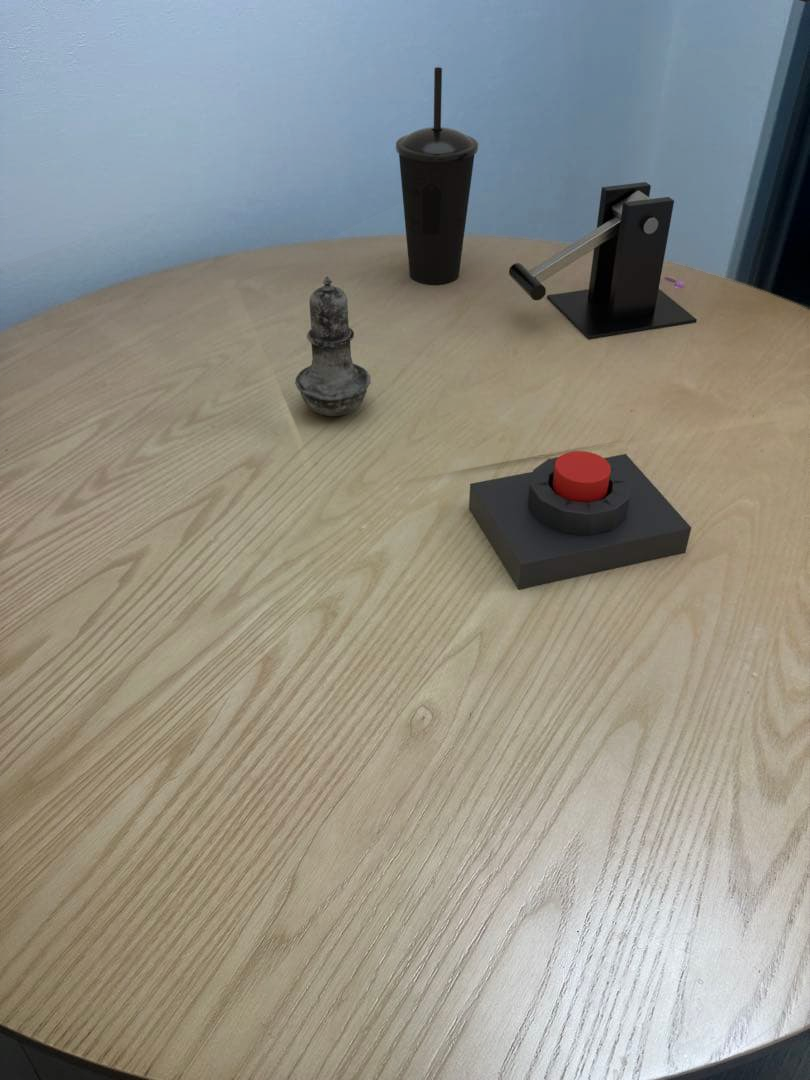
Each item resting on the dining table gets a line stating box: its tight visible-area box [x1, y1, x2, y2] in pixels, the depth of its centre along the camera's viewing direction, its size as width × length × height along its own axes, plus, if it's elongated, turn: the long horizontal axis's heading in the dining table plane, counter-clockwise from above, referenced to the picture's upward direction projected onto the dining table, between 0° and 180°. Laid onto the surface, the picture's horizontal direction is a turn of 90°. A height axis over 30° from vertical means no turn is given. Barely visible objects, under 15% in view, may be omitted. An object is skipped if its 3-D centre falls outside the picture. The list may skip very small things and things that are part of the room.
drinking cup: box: [395, 66, 479, 286], centre depth 89 cm, size 8×8×20 cm
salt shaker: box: [294, 275, 371, 417], centre depth 72 cm, size 6×6×12 cm
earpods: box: [664, 276, 685, 289], centre depth 94 cm, size 3×2×2 cm
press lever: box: [508, 190, 652, 302], centre depth 83 cm, size 13×5×2 cm, turn 107°
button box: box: [468, 453, 692, 591], centre depth 63 cm, size 12×9×4 cm
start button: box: [553, 450, 611, 503], centre depth 62 cm, size 4×4×2 cm
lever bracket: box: [546, 181, 698, 341], centre depth 86 cm, size 11×9×12 cm
